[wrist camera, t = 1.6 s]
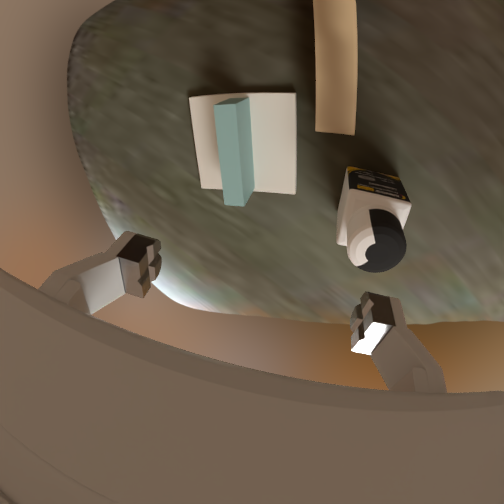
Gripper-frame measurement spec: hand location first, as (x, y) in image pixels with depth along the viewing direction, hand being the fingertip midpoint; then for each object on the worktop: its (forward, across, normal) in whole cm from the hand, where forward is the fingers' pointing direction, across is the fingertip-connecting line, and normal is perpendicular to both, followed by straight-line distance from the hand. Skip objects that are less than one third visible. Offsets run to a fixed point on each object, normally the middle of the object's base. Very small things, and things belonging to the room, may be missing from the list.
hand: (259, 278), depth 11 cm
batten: (+25, -3, -11) cm, 28 cm away
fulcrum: (+26, +6, +2) cm, 27 cm away
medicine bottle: (+26, -11, +5) cm, 29 cm away
